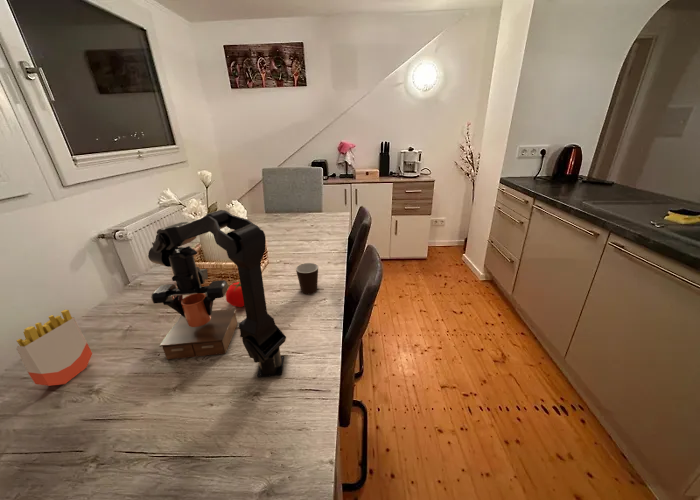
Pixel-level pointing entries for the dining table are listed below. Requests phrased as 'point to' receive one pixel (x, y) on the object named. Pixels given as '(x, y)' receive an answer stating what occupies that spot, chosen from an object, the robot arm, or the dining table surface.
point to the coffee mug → (307, 277)
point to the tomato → (235, 295)
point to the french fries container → (54, 350)
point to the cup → (195, 310)
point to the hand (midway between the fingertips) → (198, 315)
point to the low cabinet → (200, 336)
